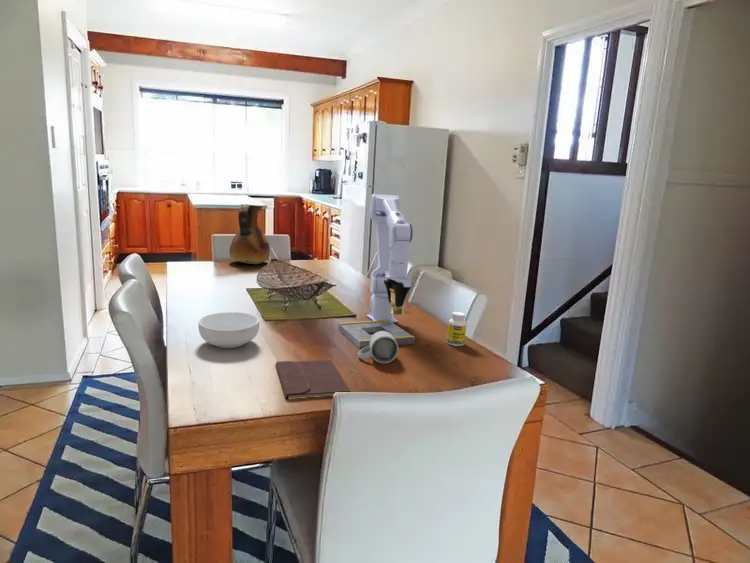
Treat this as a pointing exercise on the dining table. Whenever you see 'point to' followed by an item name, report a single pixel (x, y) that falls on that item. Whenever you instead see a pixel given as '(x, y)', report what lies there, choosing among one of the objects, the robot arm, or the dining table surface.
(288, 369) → the notebook
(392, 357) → the ceramic mug
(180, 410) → the dining table surface
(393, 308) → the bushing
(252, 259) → the ceramic pitcher
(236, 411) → the dining table surface
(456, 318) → the supplement bottle
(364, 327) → the jig
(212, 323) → the cereal bowl
